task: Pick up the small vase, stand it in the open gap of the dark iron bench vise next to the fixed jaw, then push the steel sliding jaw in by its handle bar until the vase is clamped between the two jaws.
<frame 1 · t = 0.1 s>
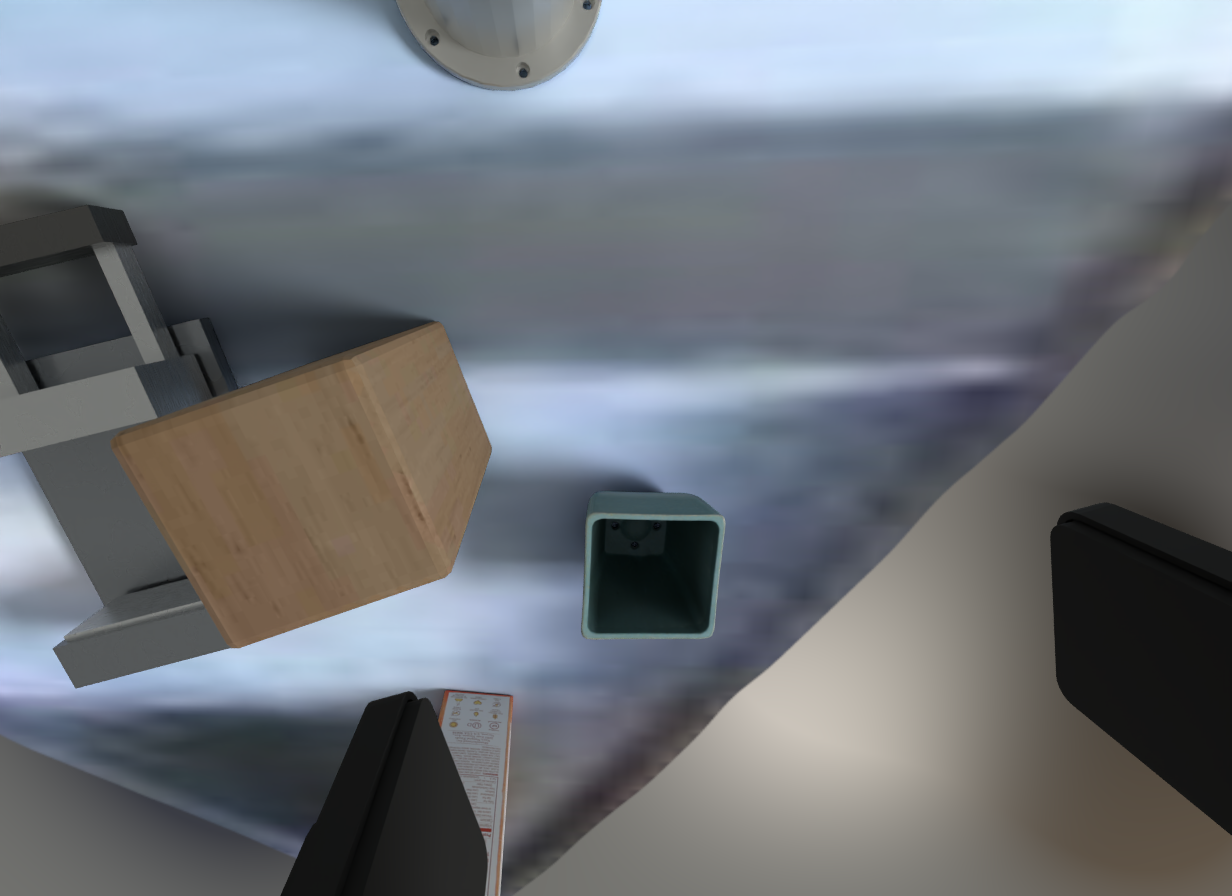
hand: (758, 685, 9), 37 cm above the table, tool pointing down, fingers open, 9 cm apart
flower pot: (633, 523, 48), on the table
sliding jaw: (41, 334, 36), point 4 cm above the table, slide at 0.0 cm
cracker box: (472, 758, 52), on the table
vise: (168, 483, 44), on the table
wooden block: (402, 409, 44), on the table
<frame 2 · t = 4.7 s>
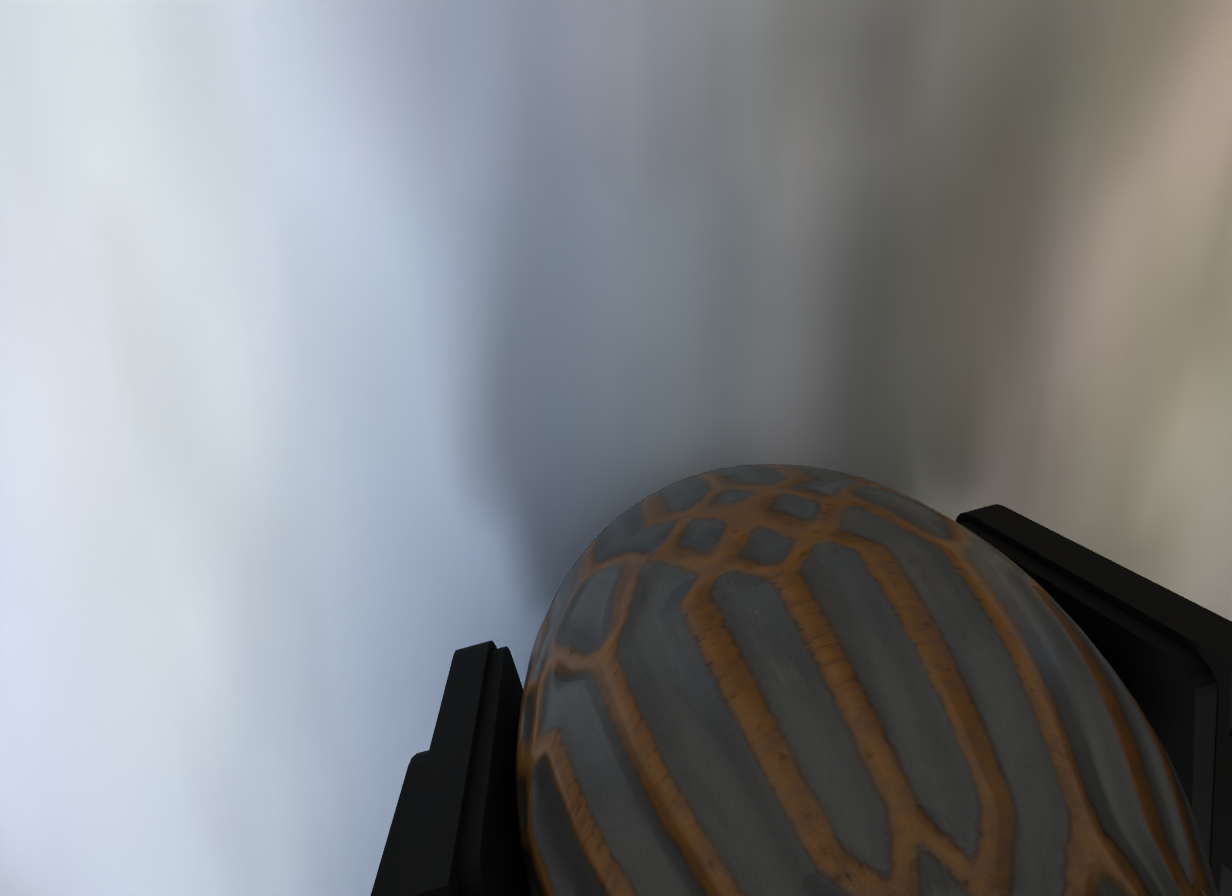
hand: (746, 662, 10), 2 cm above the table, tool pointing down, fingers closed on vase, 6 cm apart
vase: (715, 597, 12), on the table, touching gripper
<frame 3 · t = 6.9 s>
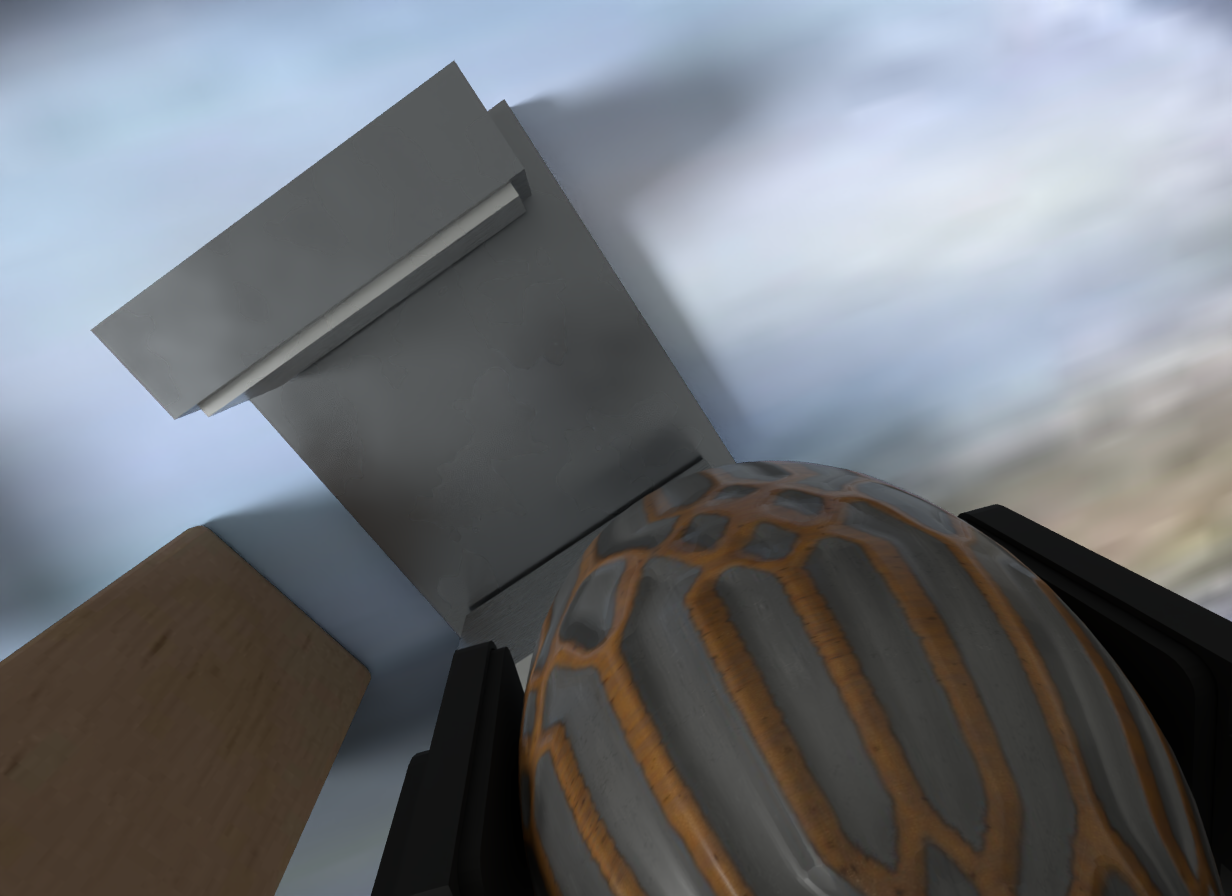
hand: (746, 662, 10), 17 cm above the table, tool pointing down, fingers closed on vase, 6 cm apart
sliding jaw: (672, 682, 25), point 4 cm above the table, slide at 0.0 cm
vise: (513, 433, 26), on the table
vase: (717, 595, 11), point 15 cm above the table, touching gripper
wooden block: (215, 662, 28), on the table
when the fingers open (4 cm above the table, at t = 9.4 s): vase drops 1 cm, resting on vise.
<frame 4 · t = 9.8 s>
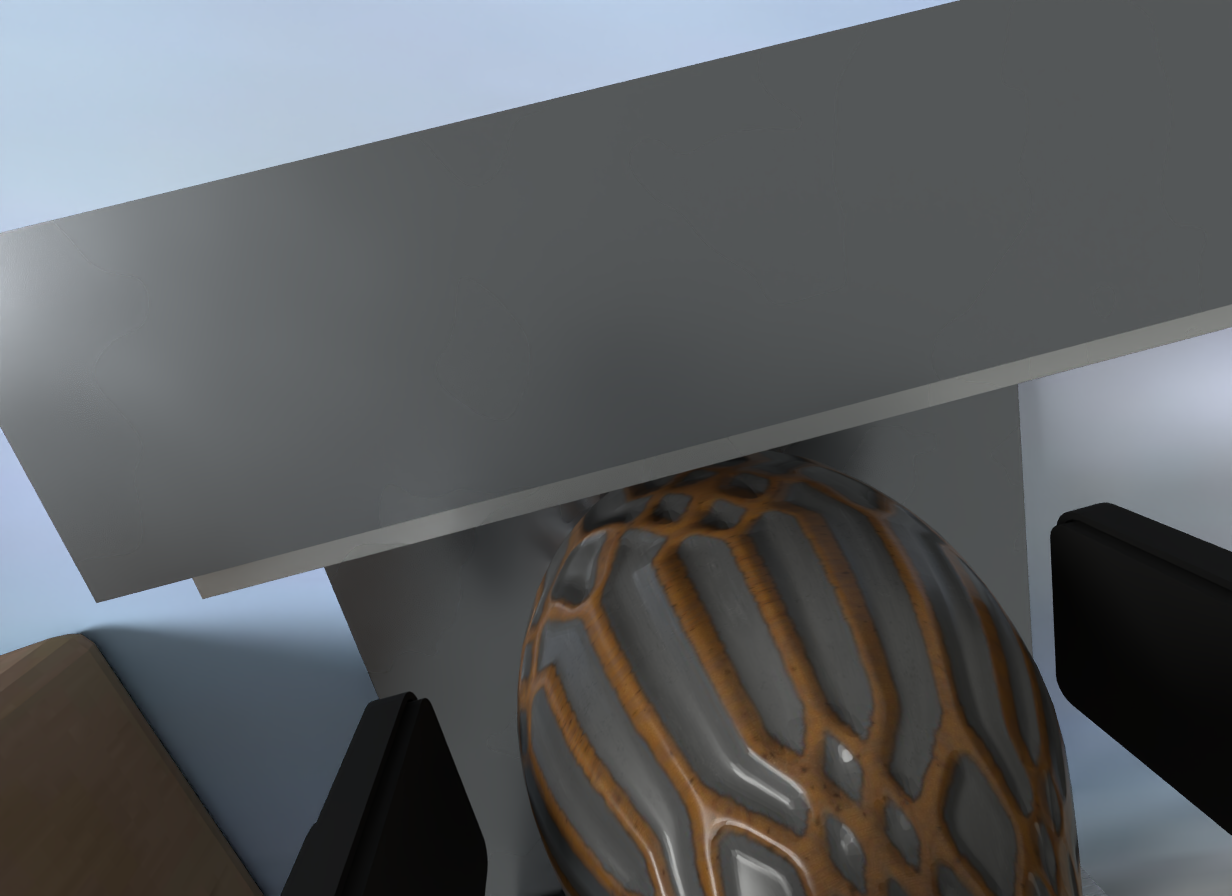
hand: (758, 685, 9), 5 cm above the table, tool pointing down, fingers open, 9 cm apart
vise: (707, 638, 15), on the table
vase: (693, 569, 13), point 1 cm above the table, touching vise
wooden block: (12, 861, 14), on the table
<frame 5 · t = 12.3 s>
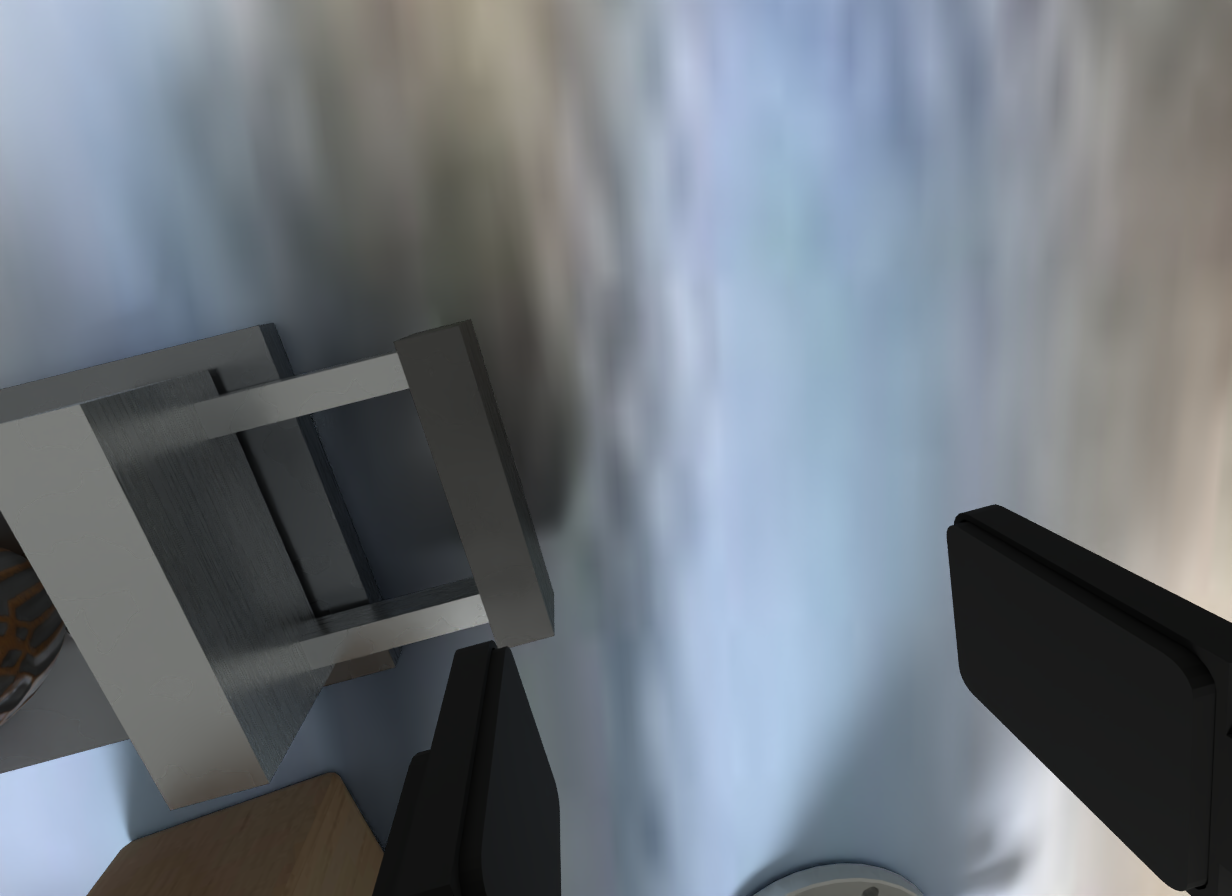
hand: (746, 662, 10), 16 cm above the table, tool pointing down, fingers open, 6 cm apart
sliding jaw: (328, 540, 20), point 5 cm above the table, slide at 0.0 cm
vise: (88, 565, 24), on the table
vase: (5, 596, 23), point 1 cm above the table, touching vise
wooden block: (285, 877, 29), on the table
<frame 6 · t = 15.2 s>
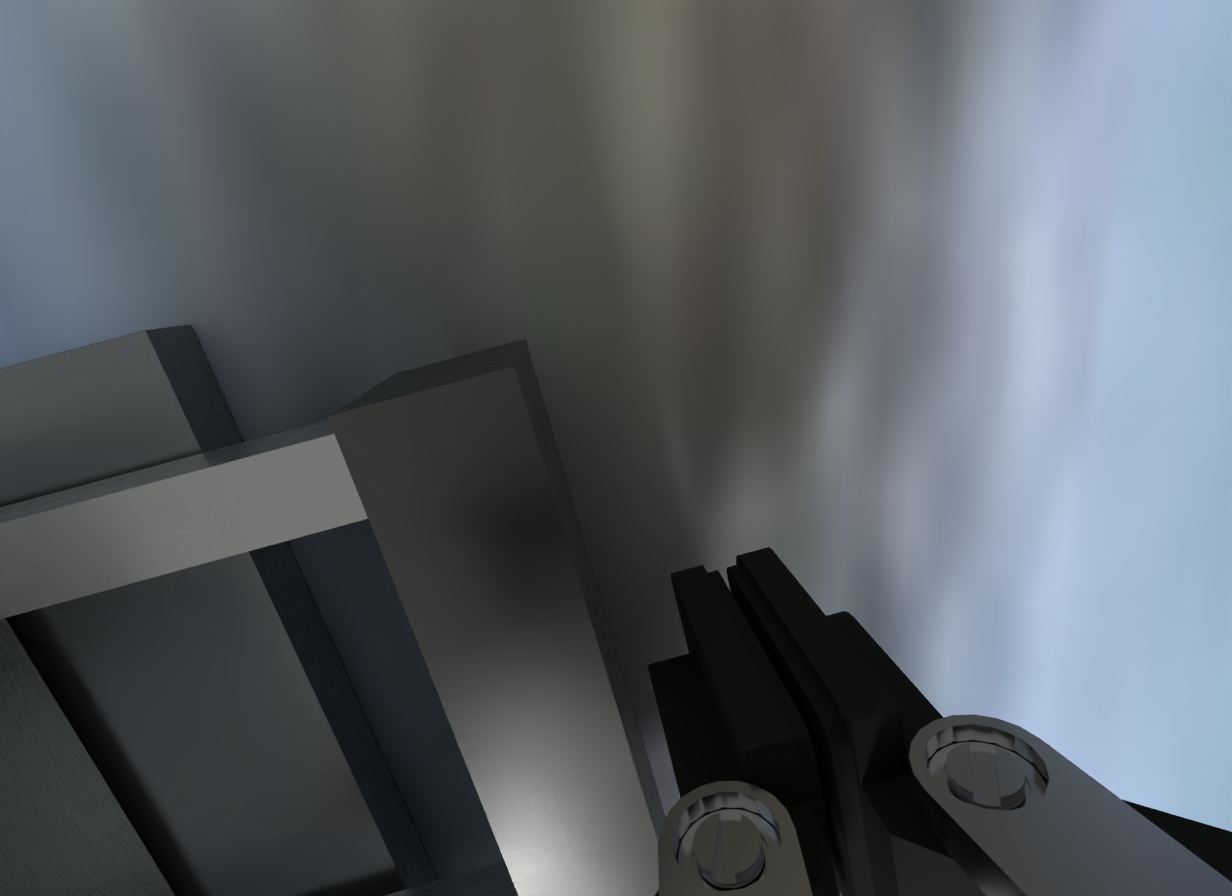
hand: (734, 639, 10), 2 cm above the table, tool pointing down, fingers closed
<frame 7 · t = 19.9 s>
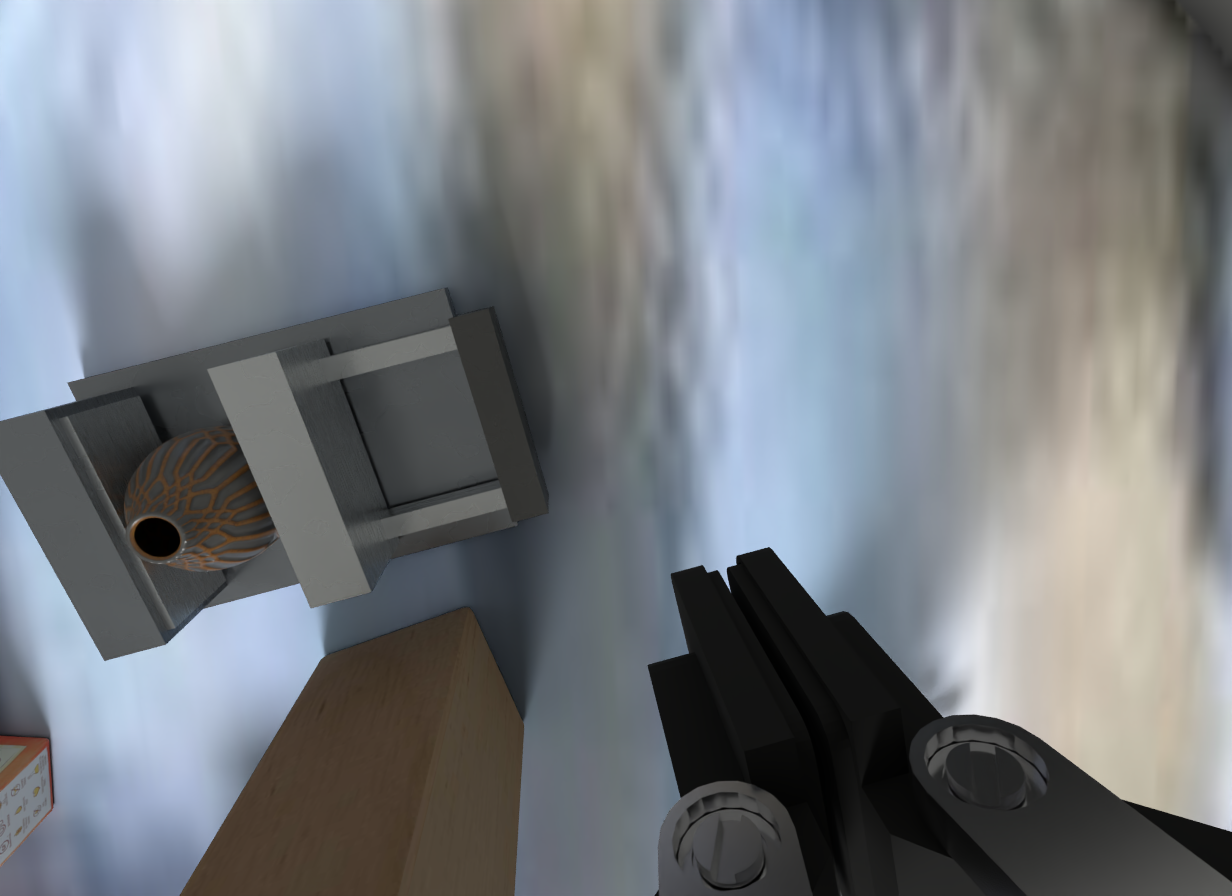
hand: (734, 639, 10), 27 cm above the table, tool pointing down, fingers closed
sliding jaw: (404, 445, 31), point 4 cm above the table, slide at 4.7 cm
vise: (315, 452, 36), on the table
vase: (253, 473, 35), point 1 cm above the table, touching vise
wooden block: (427, 689, 41), on the table
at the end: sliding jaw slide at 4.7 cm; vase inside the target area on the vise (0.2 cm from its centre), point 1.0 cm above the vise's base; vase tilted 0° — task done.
